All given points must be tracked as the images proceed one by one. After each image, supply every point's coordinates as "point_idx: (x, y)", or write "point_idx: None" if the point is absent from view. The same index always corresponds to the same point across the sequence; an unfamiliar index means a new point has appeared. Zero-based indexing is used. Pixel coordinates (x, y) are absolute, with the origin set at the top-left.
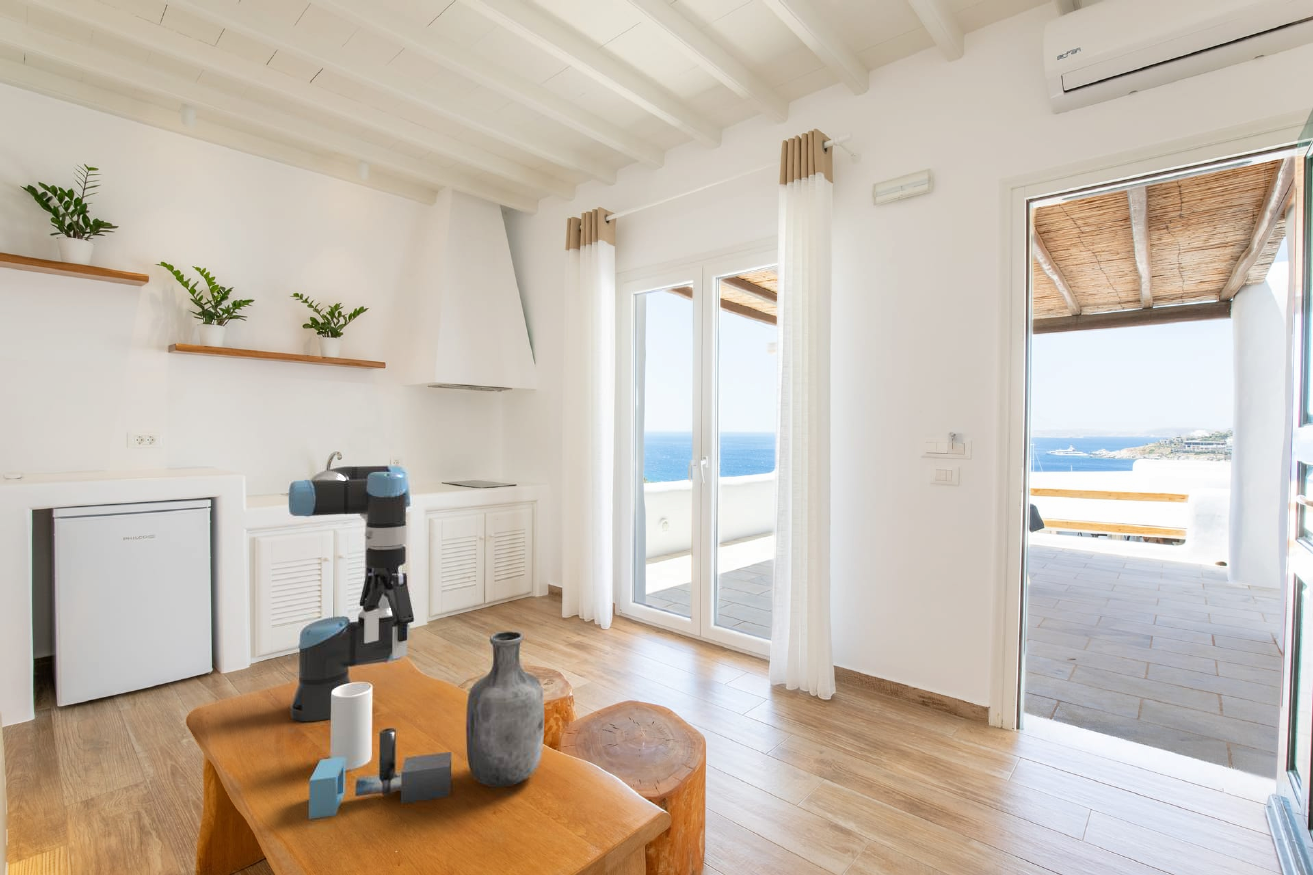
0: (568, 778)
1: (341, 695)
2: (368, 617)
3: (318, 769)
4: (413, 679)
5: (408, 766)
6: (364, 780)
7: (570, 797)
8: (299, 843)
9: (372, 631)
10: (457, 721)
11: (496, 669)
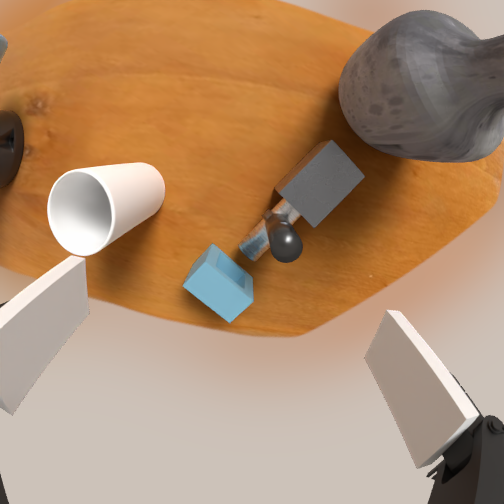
0: None
1: (62, 213)
2: (22, 382)
3: (209, 302)
4: (25, 30)
5: (308, 209)
6: (258, 251)
7: None
8: (268, 322)
9: (61, 311)
10: (171, 24)
11: (502, 105)
